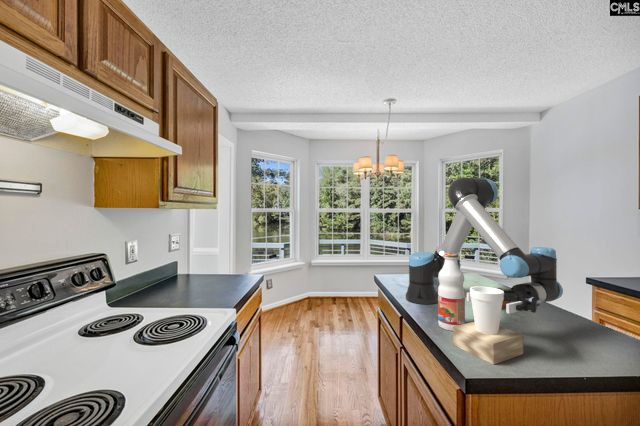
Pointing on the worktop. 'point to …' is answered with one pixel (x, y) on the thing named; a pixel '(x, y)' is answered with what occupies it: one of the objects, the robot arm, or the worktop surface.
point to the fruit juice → (451, 294)
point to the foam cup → (486, 308)
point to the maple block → (488, 343)
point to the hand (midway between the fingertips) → (486, 302)
